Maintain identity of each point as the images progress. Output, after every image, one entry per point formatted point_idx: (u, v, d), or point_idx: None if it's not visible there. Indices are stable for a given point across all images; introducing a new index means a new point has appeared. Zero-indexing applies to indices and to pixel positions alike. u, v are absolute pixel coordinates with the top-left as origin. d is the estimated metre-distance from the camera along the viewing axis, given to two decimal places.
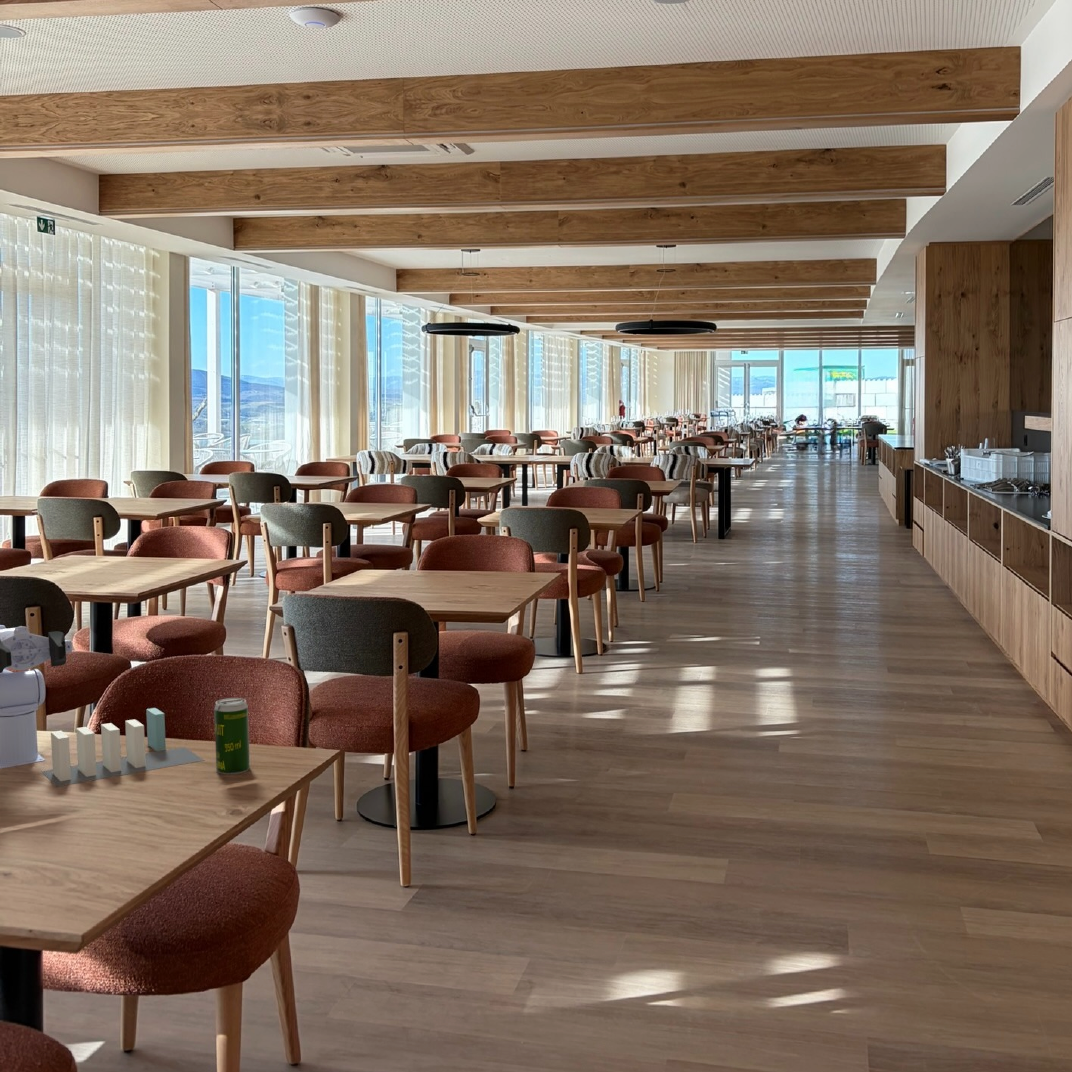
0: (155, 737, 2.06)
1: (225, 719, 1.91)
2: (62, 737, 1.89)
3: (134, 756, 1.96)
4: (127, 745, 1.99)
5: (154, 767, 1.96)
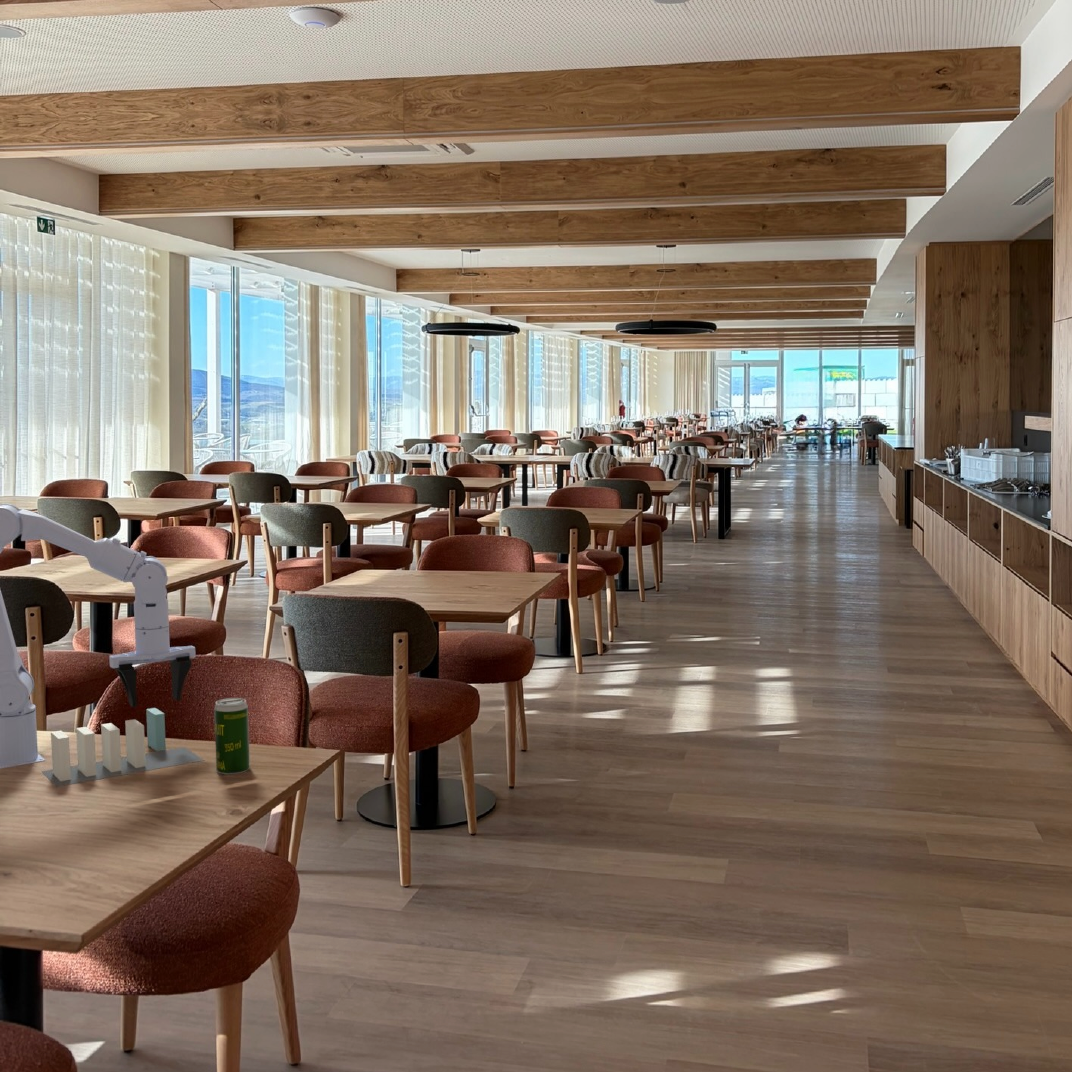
0: (155, 737, 2.06)
1: (225, 719, 1.91)
2: (62, 737, 1.89)
3: (134, 756, 1.96)
4: (127, 745, 1.99)
5: (154, 767, 1.96)
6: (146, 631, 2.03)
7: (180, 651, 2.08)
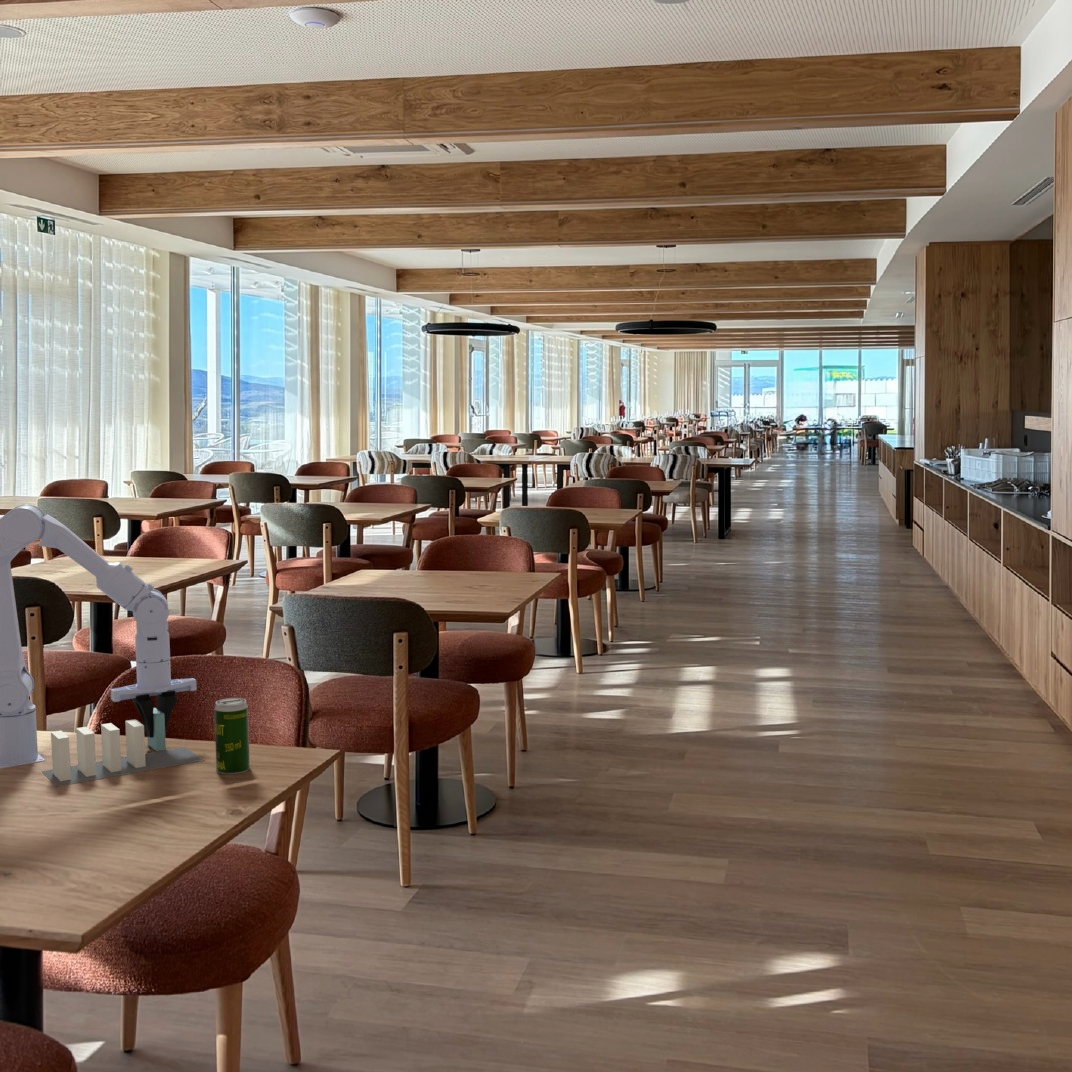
0: (155, 737, 2.06)
1: (225, 719, 1.91)
2: (62, 737, 1.89)
3: (134, 756, 1.96)
4: (127, 745, 1.99)
5: (154, 767, 1.96)
6: (147, 665, 2.04)
7: (181, 684, 2.08)
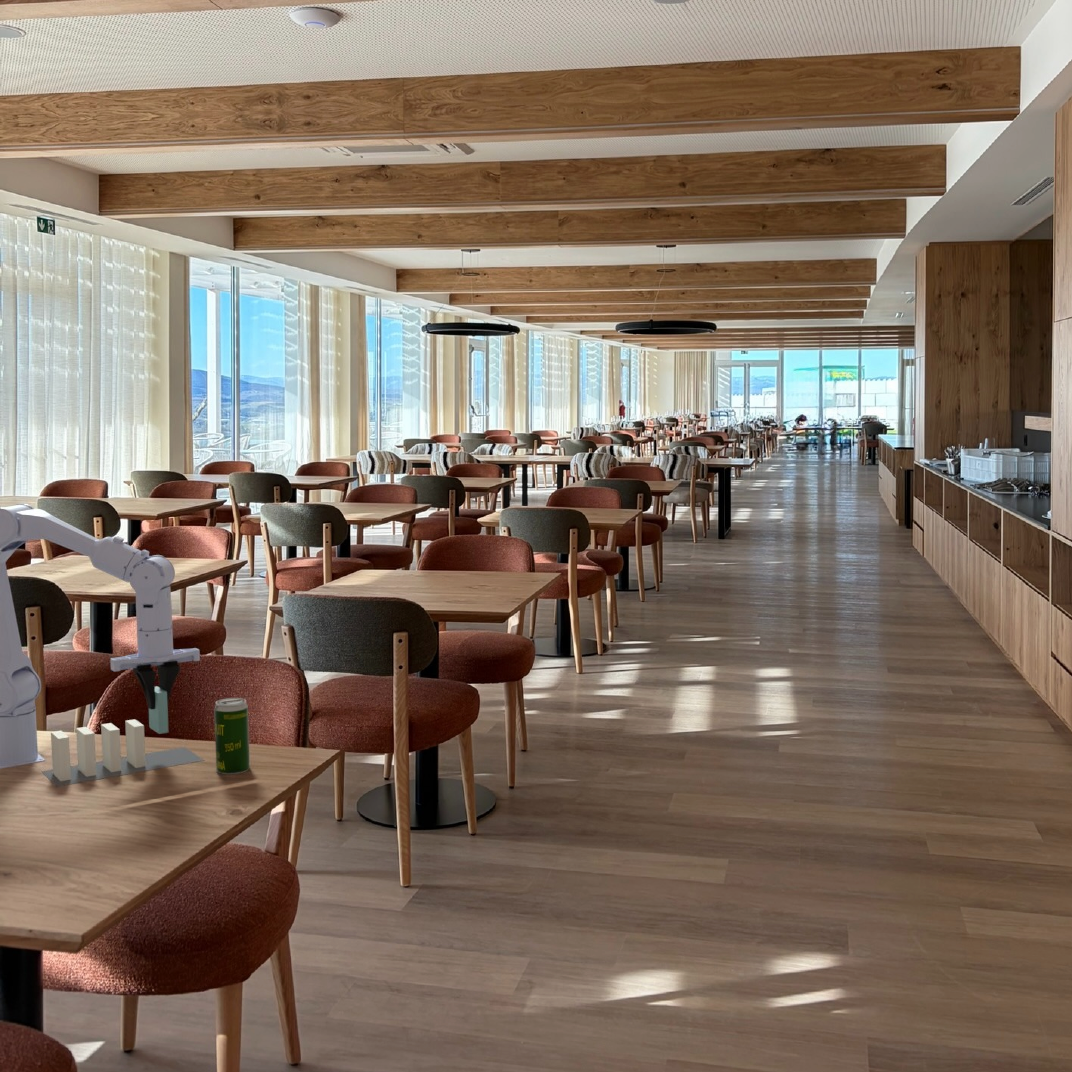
0: (157, 716, 1.98)
1: (225, 719, 1.91)
2: (62, 737, 1.89)
3: (134, 756, 1.96)
4: (127, 745, 1.99)
5: (154, 767, 1.96)
6: (149, 633, 1.95)
7: (184, 654, 2.00)
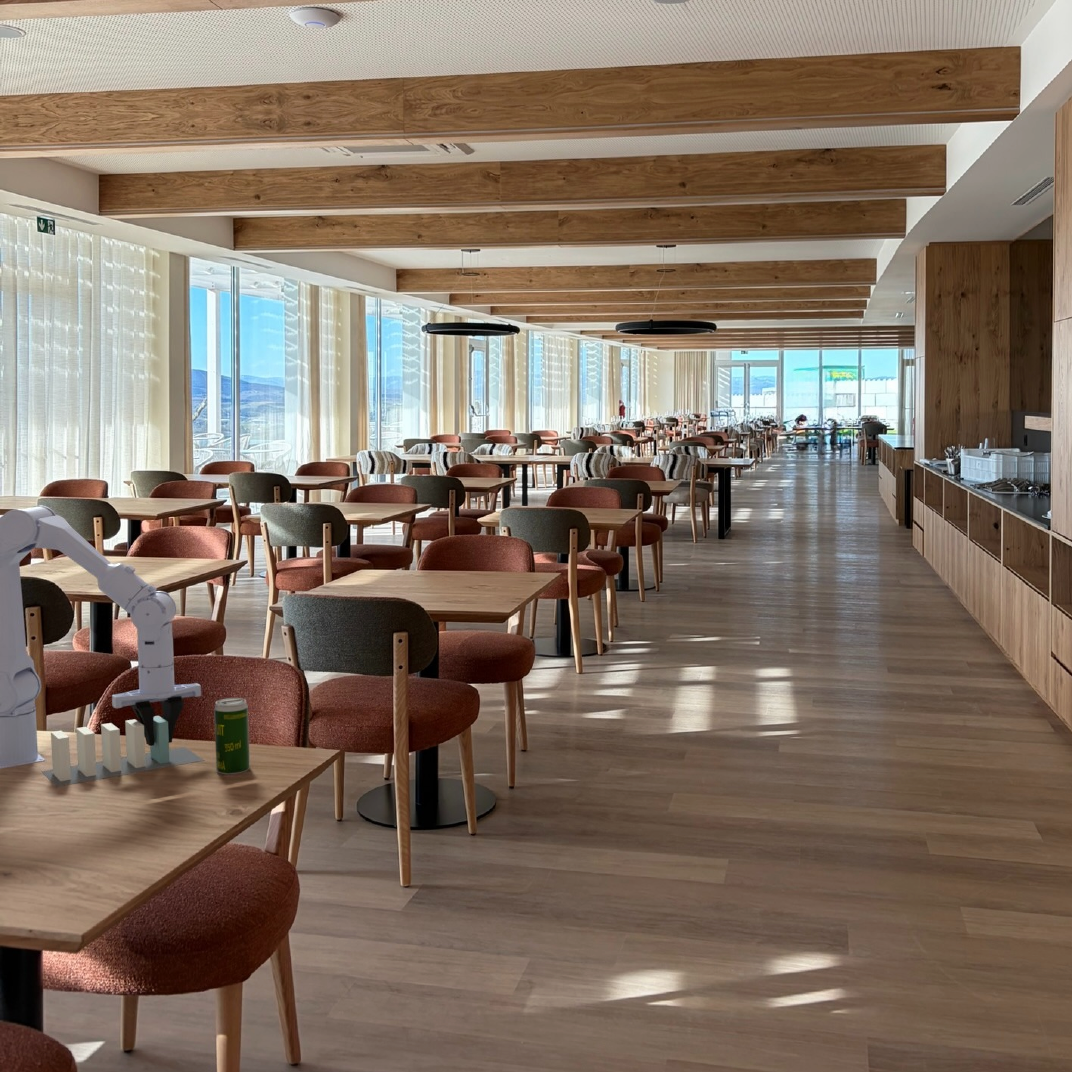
0: (158, 746, 1.98)
1: (225, 719, 1.91)
2: (62, 737, 1.89)
3: (134, 756, 1.96)
4: (127, 745, 1.99)
5: (154, 767, 1.96)
6: (150, 669, 1.96)
7: (185, 689, 2.00)
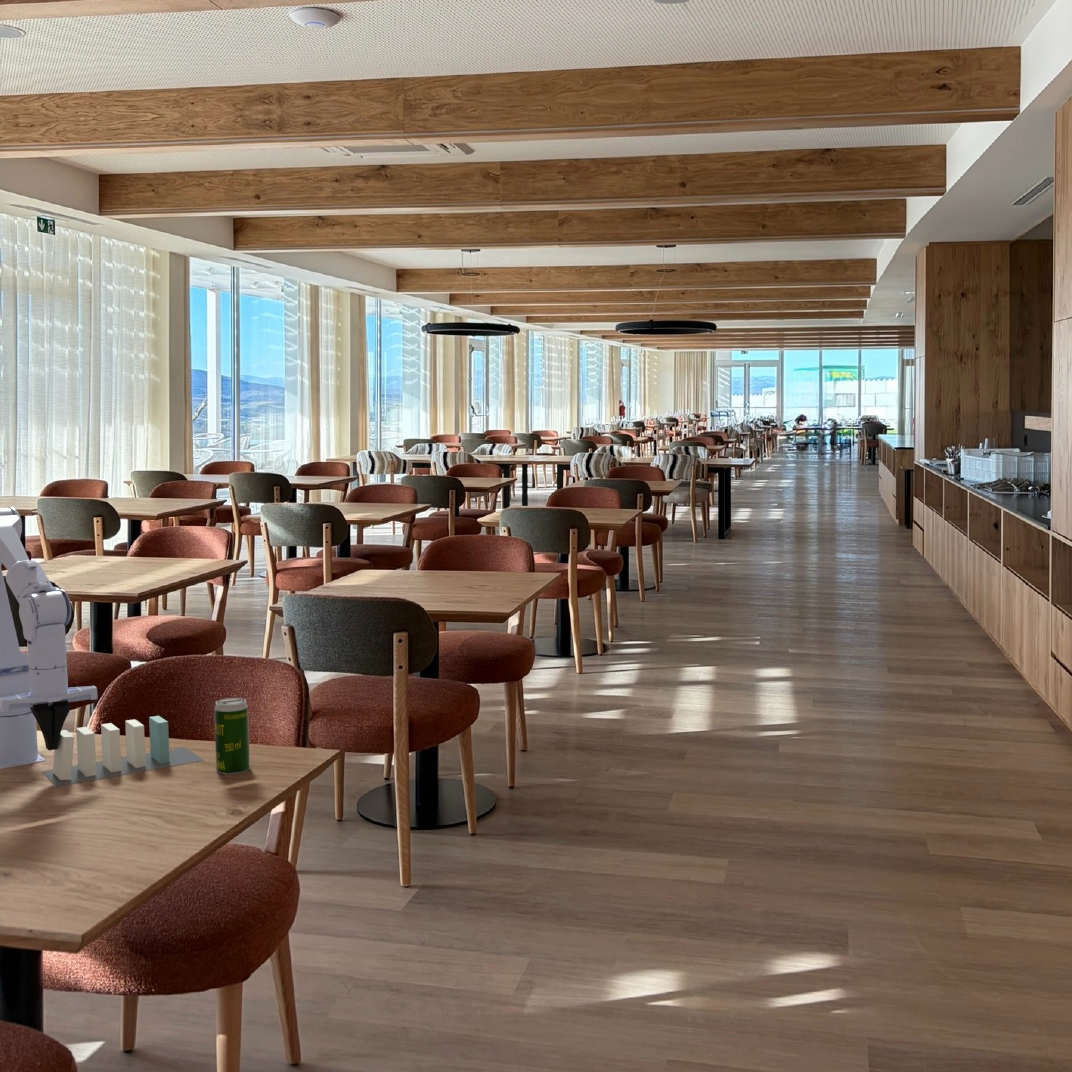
0: (158, 746, 1.98)
1: (225, 719, 1.91)
2: (67, 736, 1.89)
3: (134, 756, 1.96)
4: (127, 745, 1.99)
5: (154, 767, 1.96)
6: (40, 671, 1.86)
7: (79, 692, 1.90)
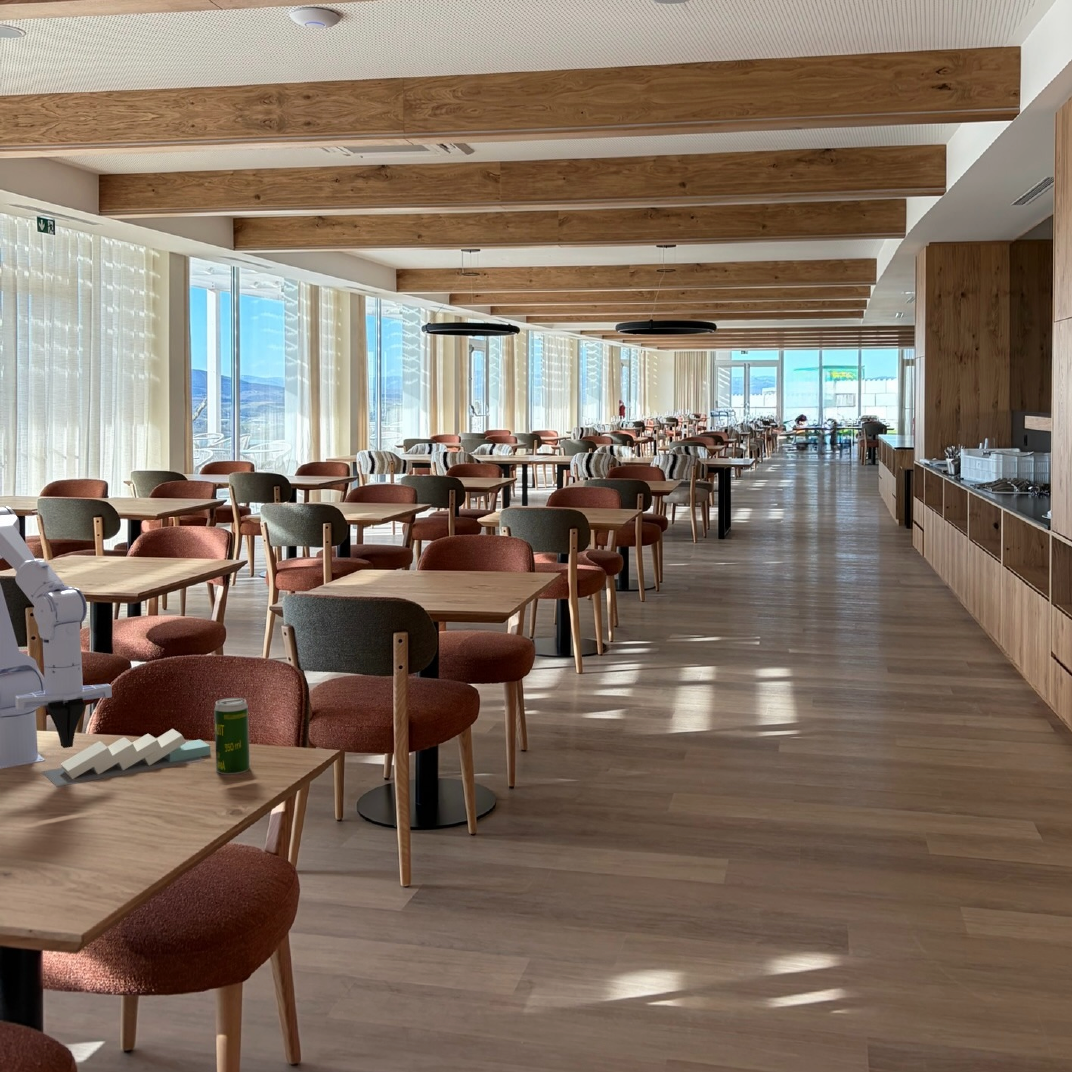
0: (185, 749, 2.01)
1: (225, 719, 1.91)
2: None
3: None
4: None
5: (154, 767, 1.96)
6: (55, 669, 1.87)
7: (94, 690, 1.92)
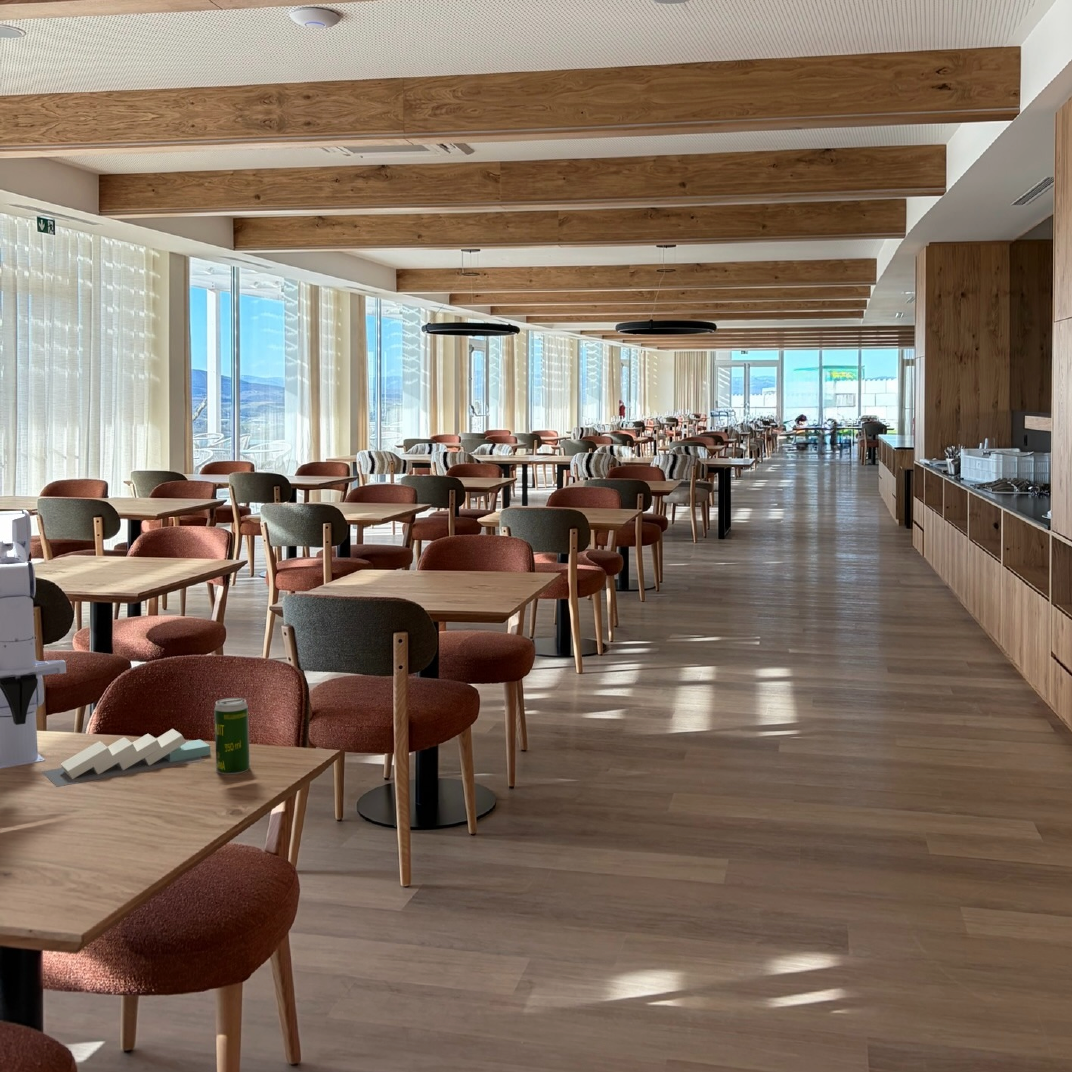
0: (185, 749, 2.01)
1: (225, 719, 1.91)
2: None
3: None
4: None
5: (154, 767, 1.96)
6: (7, 644, 1.83)
7: (47, 666, 1.87)
